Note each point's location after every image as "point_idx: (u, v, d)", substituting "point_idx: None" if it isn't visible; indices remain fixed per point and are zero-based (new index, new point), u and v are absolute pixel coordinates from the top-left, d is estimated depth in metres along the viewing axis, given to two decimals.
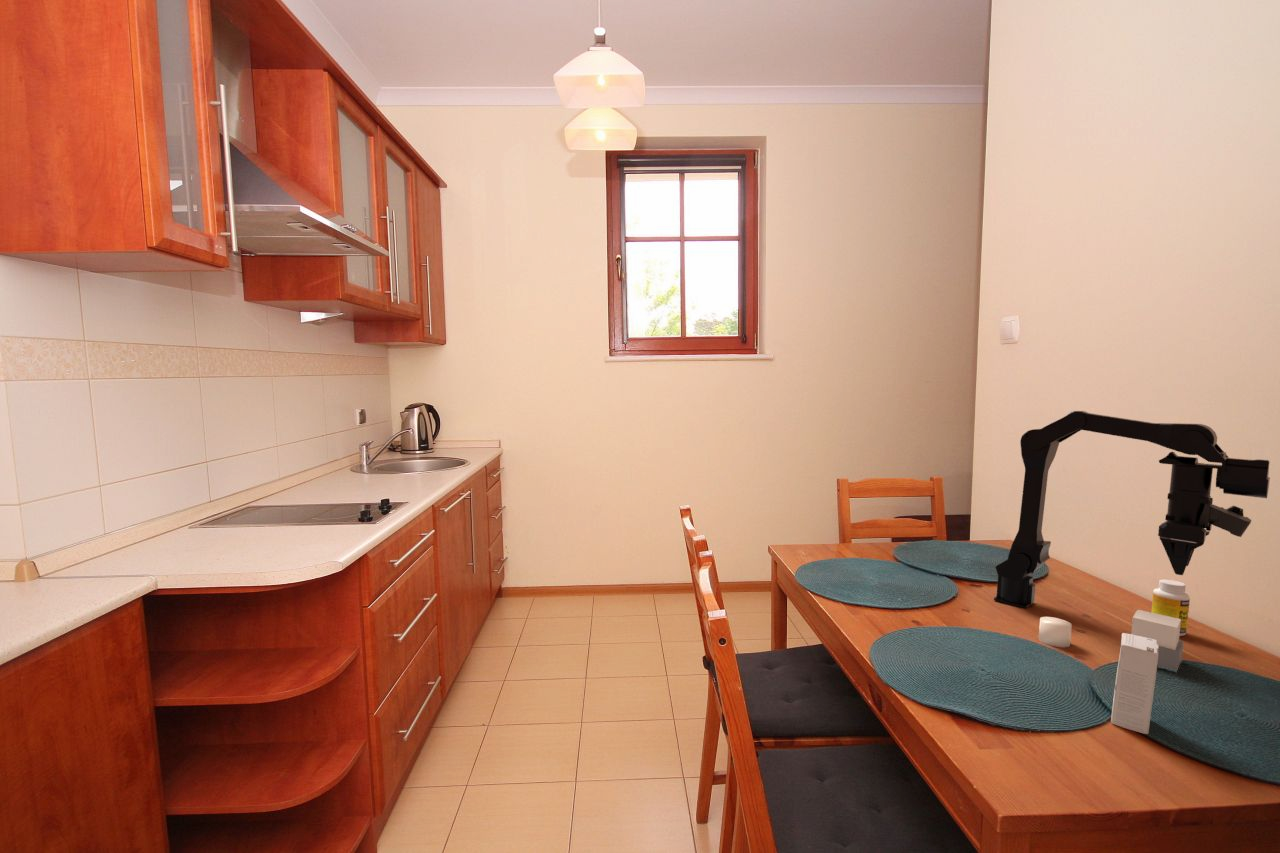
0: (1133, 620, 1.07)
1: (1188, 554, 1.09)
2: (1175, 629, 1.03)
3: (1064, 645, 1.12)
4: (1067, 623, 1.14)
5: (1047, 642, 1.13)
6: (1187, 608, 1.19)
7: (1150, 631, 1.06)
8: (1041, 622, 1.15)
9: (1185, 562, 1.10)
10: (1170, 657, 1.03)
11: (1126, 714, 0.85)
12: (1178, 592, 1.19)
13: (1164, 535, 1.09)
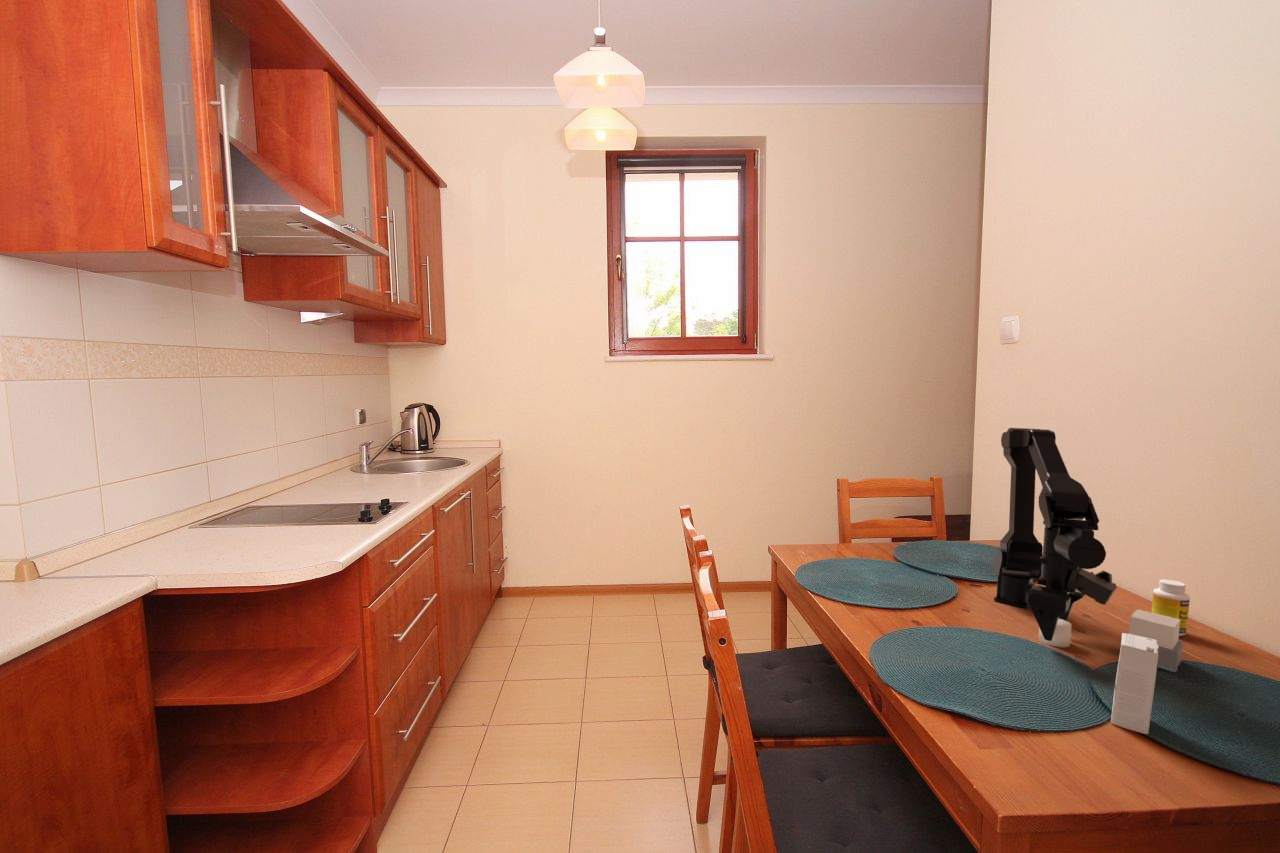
0: (1131, 619, 1.08)
1: (1054, 621, 1.09)
2: (1172, 629, 1.03)
3: (1064, 645, 1.12)
4: (1067, 623, 1.14)
5: (1047, 642, 1.13)
6: (1187, 608, 1.19)
7: (1147, 630, 1.06)
8: None
9: (1053, 628, 1.10)
10: (1169, 657, 1.04)
11: (1126, 714, 0.85)
12: (1178, 592, 1.19)
13: (1030, 602, 1.09)
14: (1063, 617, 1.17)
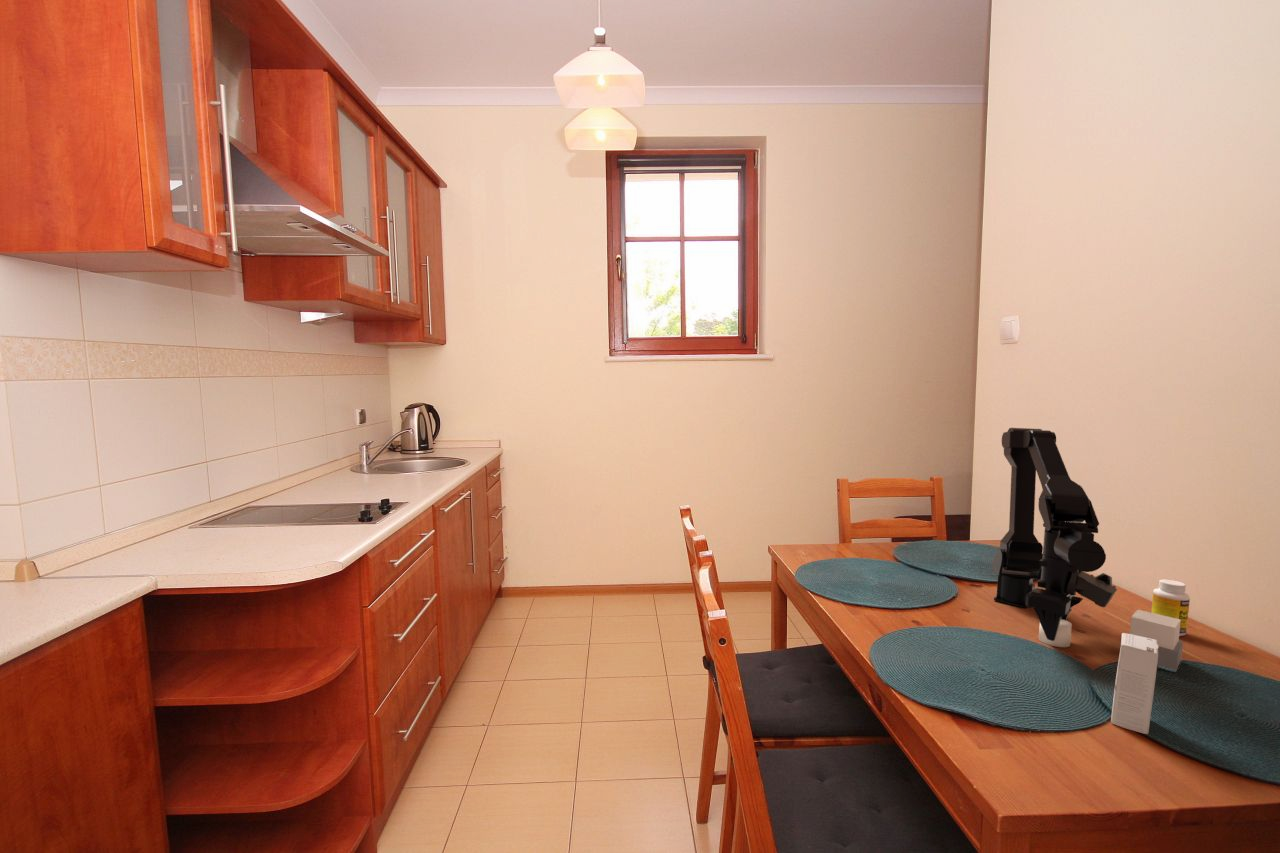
0: (1131, 620, 1.08)
1: (1057, 621, 1.11)
2: (1173, 629, 1.03)
3: (1064, 645, 1.12)
4: (1067, 623, 1.14)
5: (1047, 642, 1.13)
6: (1187, 608, 1.19)
7: (1148, 631, 1.06)
8: None
9: (1055, 628, 1.12)
10: (1170, 657, 1.03)
11: (1126, 714, 0.85)
12: (1178, 592, 1.19)
13: (1030, 604, 1.09)
14: None
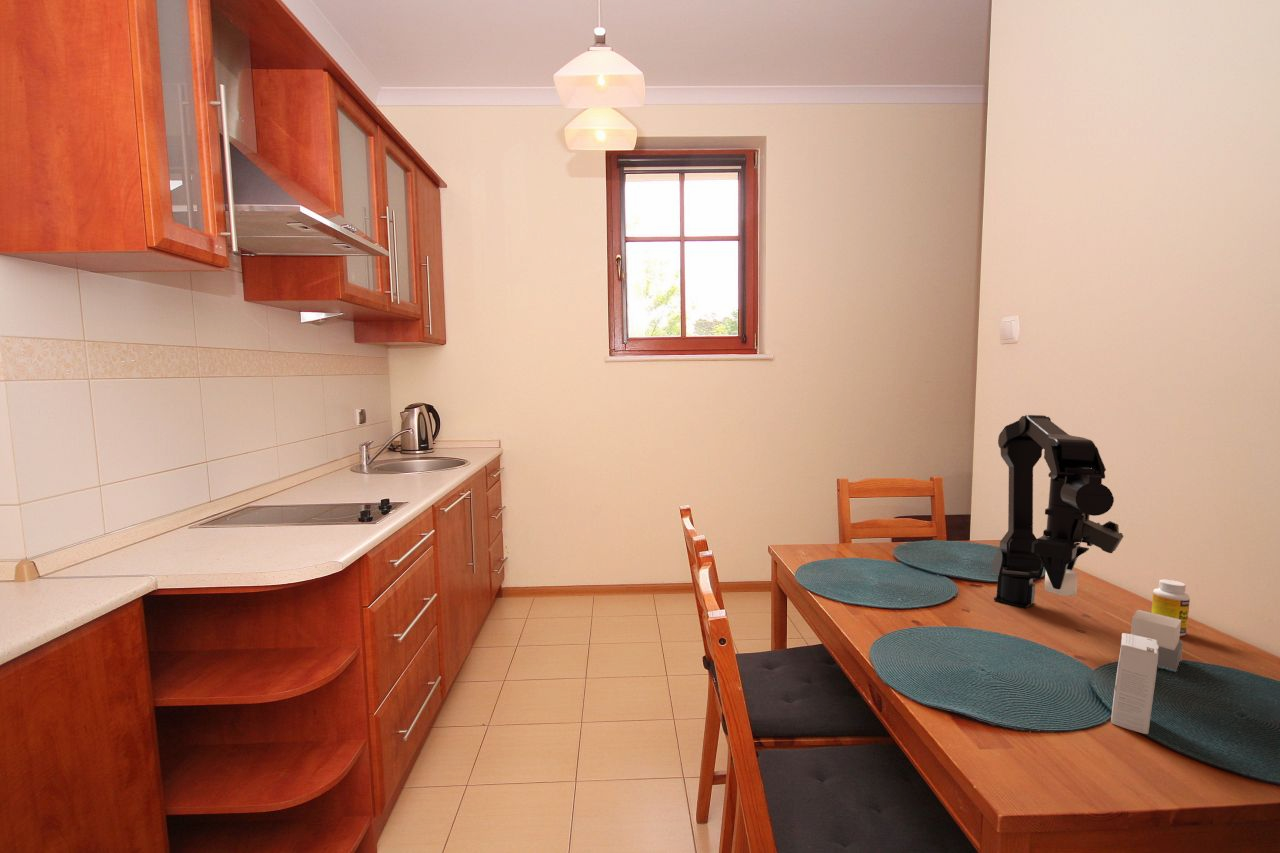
0: (1132, 620, 1.07)
1: (1063, 568, 1.10)
2: (1174, 629, 1.03)
3: (1070, 593, 1.11)
4: (1073, 572, 1.13)
5: (1053, 591, 1.13)
6: (1187, 608, 1.19)
7: (1149, 631, 1.06)
8: None
9: (1061, 576, 1.11)
10: (1170, 657, 1.04)
11: (1126, 714, 0.85)
12: (1178, 592, 1.19)
13: (1036, 551, 1.09)
14: None
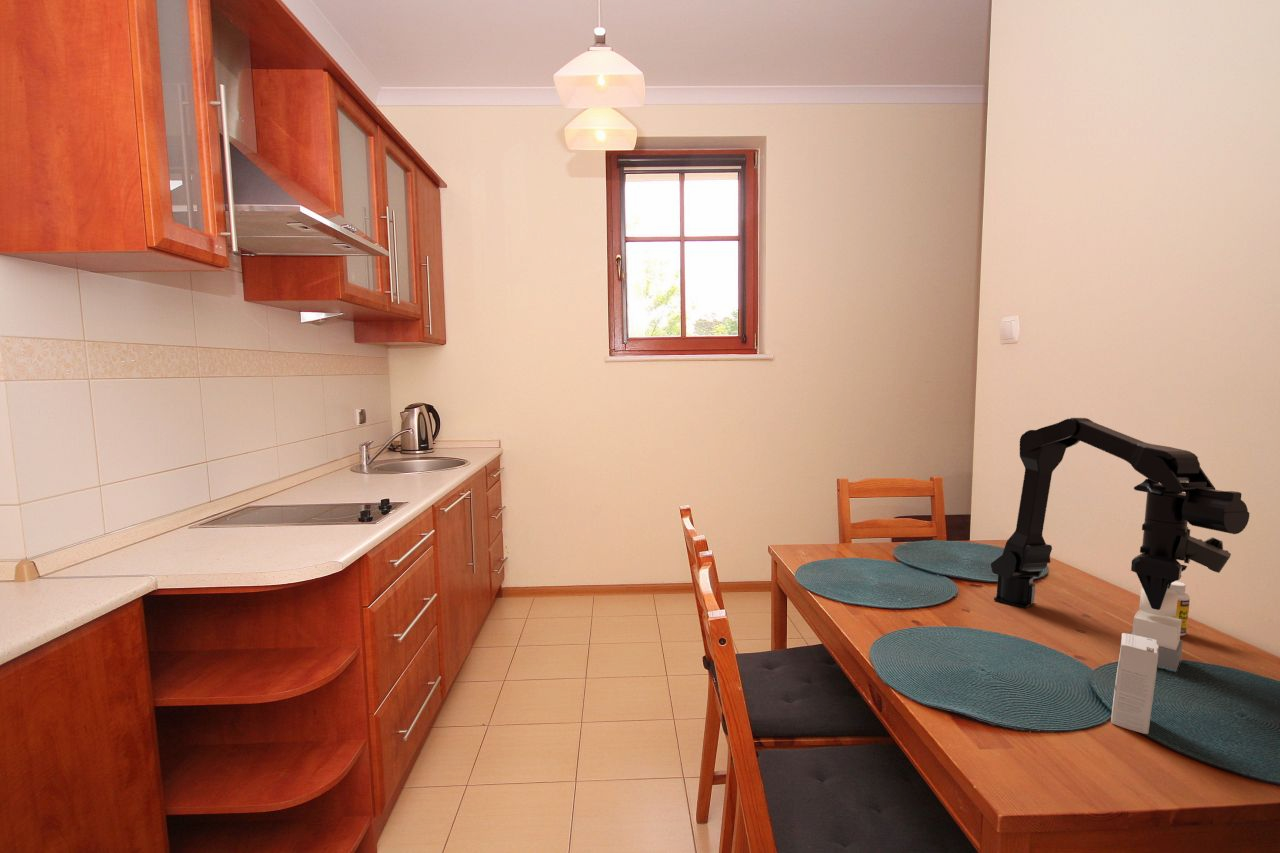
0: (1134, 620, 1.07)
1: (1165, 588, 1.03)
2: (1176, 629, 1.03)
3: (1171, 614, 1.05)
4: (1172, 591, 1.06)
5: (1151, 611, 1.06)
6: (1187, 608, 1.19)
7: (1151, 631, 1.06)
8: None
9: (1162, 596, 1.04)
10: (1170, 657, 1.04)
11: (1126, 714, 0.85)
12: (1178, 592, 1.19)
13: (1137, 570, 1.02)
14: None
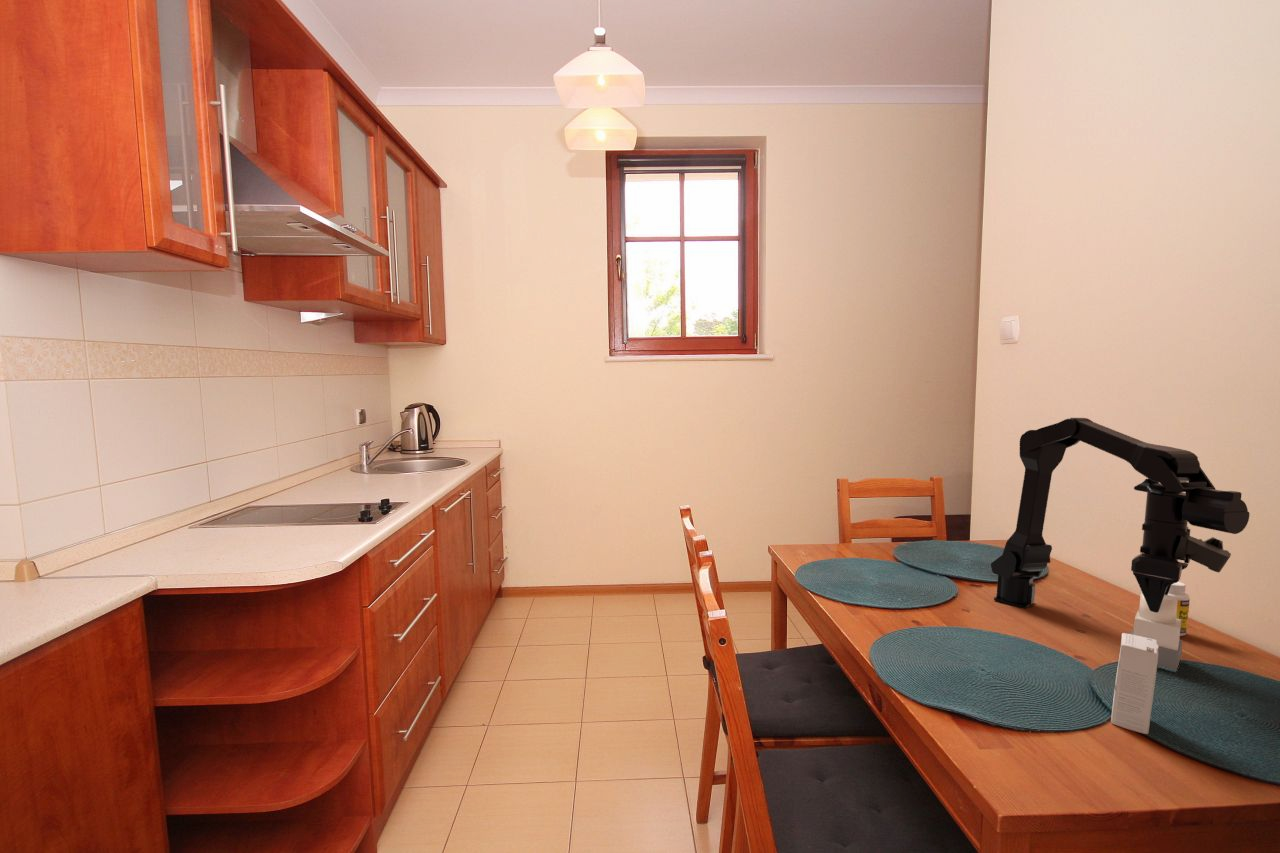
0: (1135, 621, 1.07)
1: (1163, 590, 1.02)
2: (1178, 630, 1.03)
3: (1170, 621, 1.05)
4: (1172, 598, 1.06)
5: (1151, 618, 1.06)
6: (1187, 608, 1.19)
7: (1152, 632, 1.05)
8: (1143, 597, 1.07)
9: (1160, 598, 1.03)
10: (1170, 656, 1.03)
11: (1126, 714, 0.85)
12: (1178, 592, 1.19)
13: (1137, 570, 1.02)
14: None
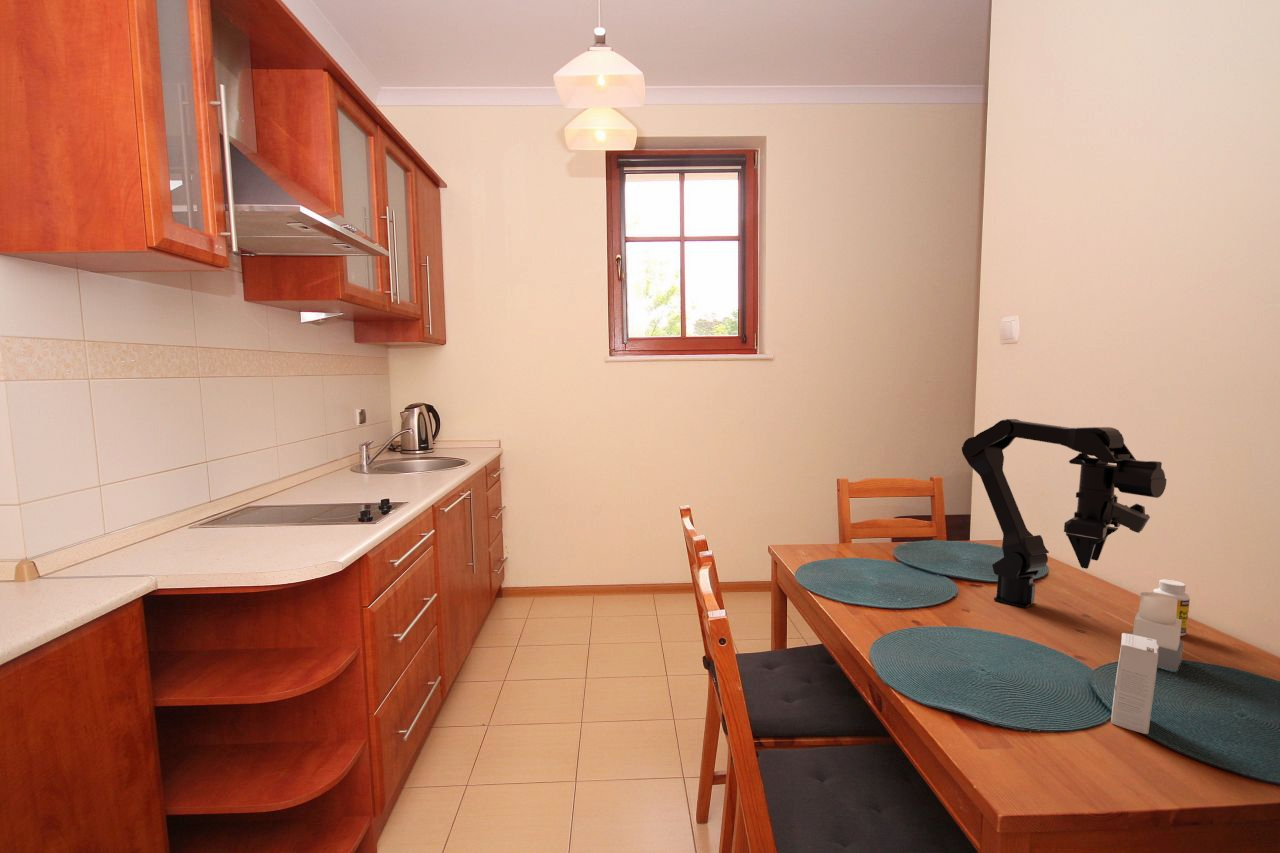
0: (1135, 621, 1.07)
1: (1091, 549, 1.17)
2: (1177, 630, 1.03)
3: (1171, 621, 1.05)
4: (1172, 598, 1.06)
5: (1151, 619, 1.06)
6: (1187, 608, 1.19)
7: (1152, 632, 1.05)
8: (1143, 598, 1.07)
9: (1089, 556, 1.18)
10: (1170, 657, 1.03)
11: (1126, 714, 0.85)
12: (1178, 592, 1.19)
13: (1068, 531, 1.17)
14: (1097, 550, 1.25)
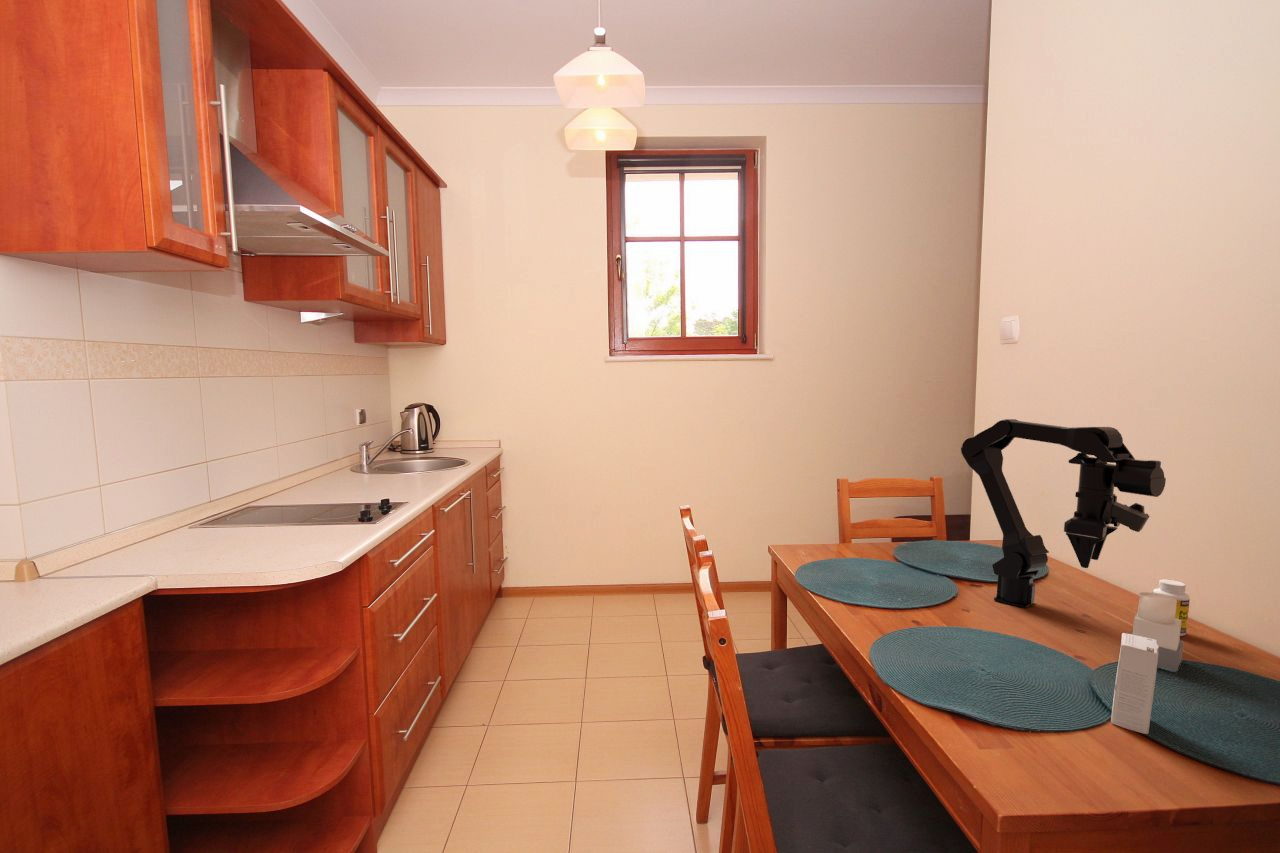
0: (1134, 621, 1.07)
1: (1091, 548, 1.17)
2: (1177, 630, 1.03)
3: (1170, 622, 1.05)
4: (1171, 598, 1.06)
5: (1150, 619, 1.06)
6: (1187, 608, 1.19)
7: (1151, 632, 1.05)
8: (1142, 598, 1.07)
9: (1089, 555, 1.18)
10: (1170, 657, 1.03)
11: (1126, 714, 0.85)
12: (1178, 592, 1.19)
13: (1068, 530, 1.17)
14: (1097, 549, 1.25)
